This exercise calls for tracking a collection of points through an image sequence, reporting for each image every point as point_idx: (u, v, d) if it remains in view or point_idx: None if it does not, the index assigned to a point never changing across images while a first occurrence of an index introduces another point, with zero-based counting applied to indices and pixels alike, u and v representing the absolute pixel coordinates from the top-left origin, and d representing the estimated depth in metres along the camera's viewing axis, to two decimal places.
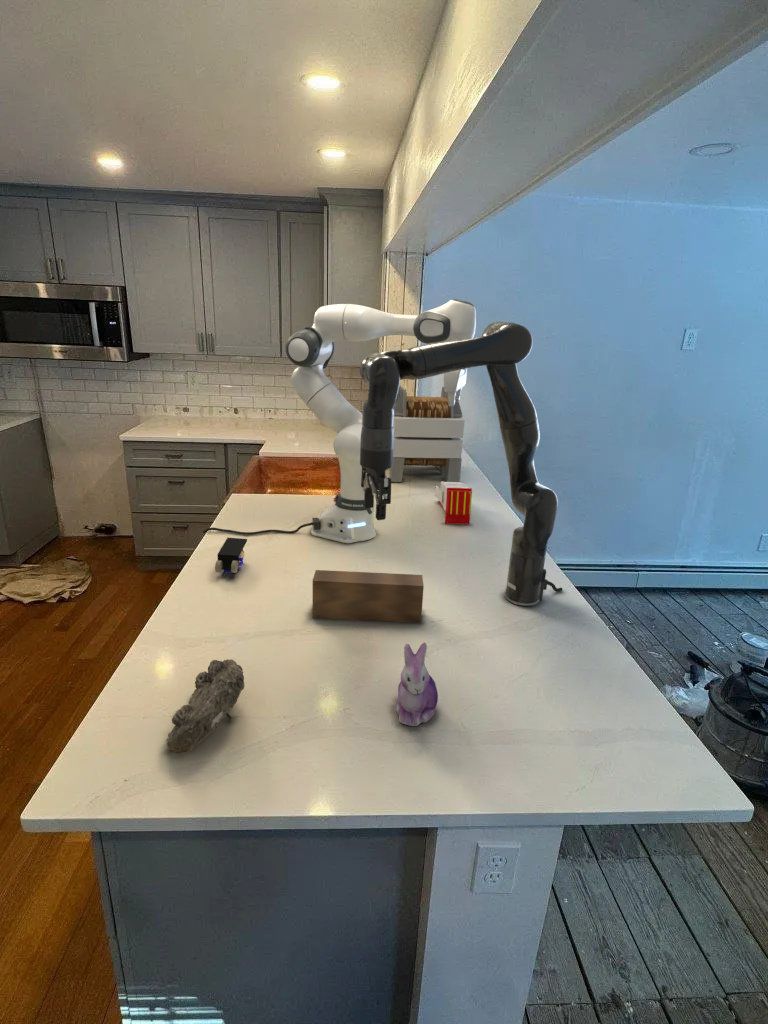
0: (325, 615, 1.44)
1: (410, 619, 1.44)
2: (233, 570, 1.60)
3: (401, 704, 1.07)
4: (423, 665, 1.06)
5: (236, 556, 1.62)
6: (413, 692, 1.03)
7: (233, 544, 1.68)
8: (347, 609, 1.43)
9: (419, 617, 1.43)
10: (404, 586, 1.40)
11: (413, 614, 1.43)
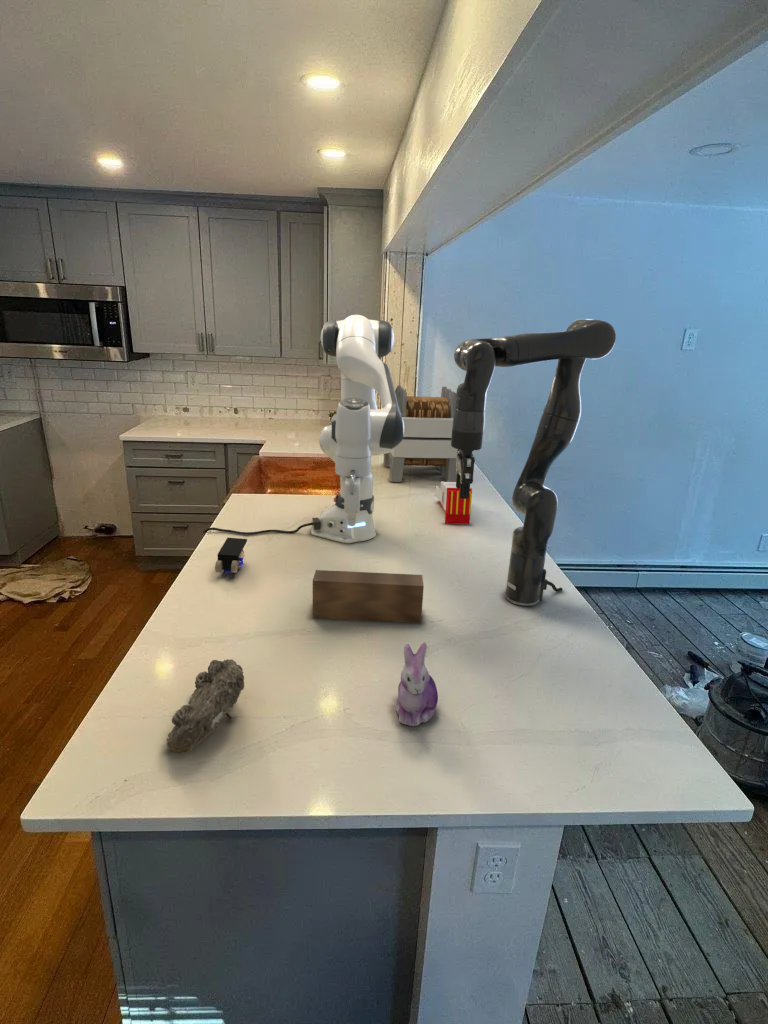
0: (325, 615, 1.44)
1: (410, 619, 1.44)
2: (233, 570, 1.60)
3: (401, 704, 1.07)
4: (423, 665, 1.06)
5: (236, 556, 1.62)
6: (413, 692, 1.03)
7: (233, 544, 1.68)
8: (347, 609, 1.43)
9: (419, 617, 1.43)
10: (404, 586, 1.40)
11: (413, 614, 1.43)
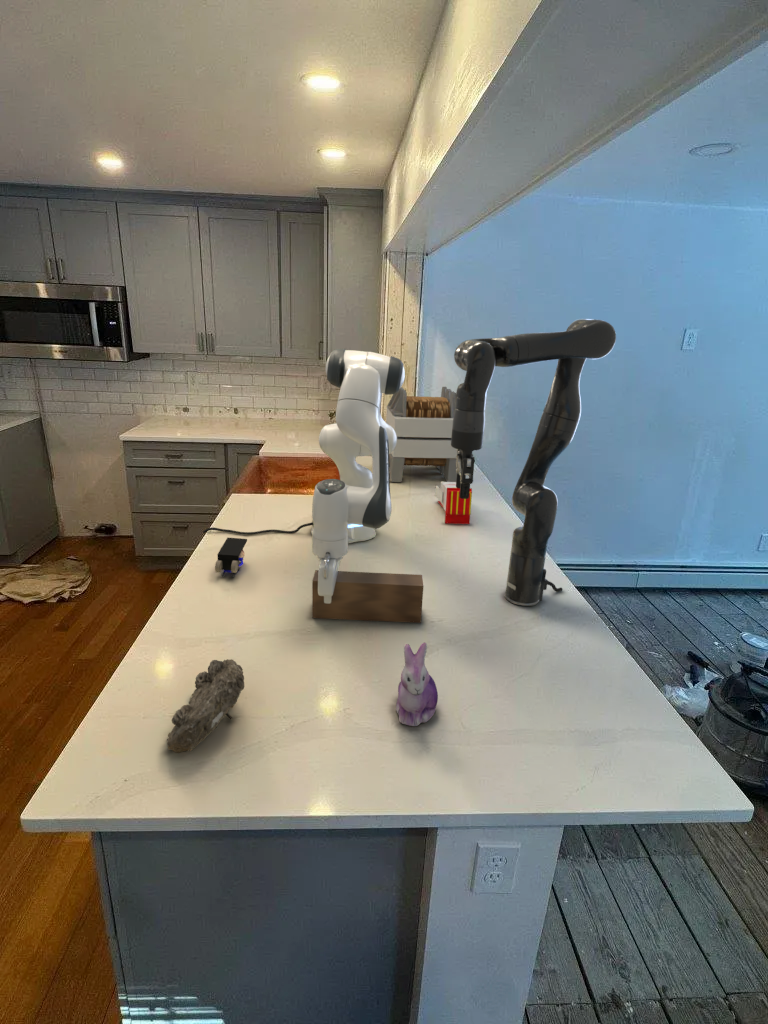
0: (325, 615, 1.44)
1: (410, 619, 1.44)
2: (233, 570, 1.60)
3: (401, 704, 1.07)
4: (423, 665, 1.06)
5: (236, 556, 1.62)
6: (413, 692, 1.03)
7: (233, 544, 1.68)
8: (347, 609, 1.43)
9: (419, 617, 1.43)
10: (404, 586, 1.40)
11: (413, 614, 1.43)
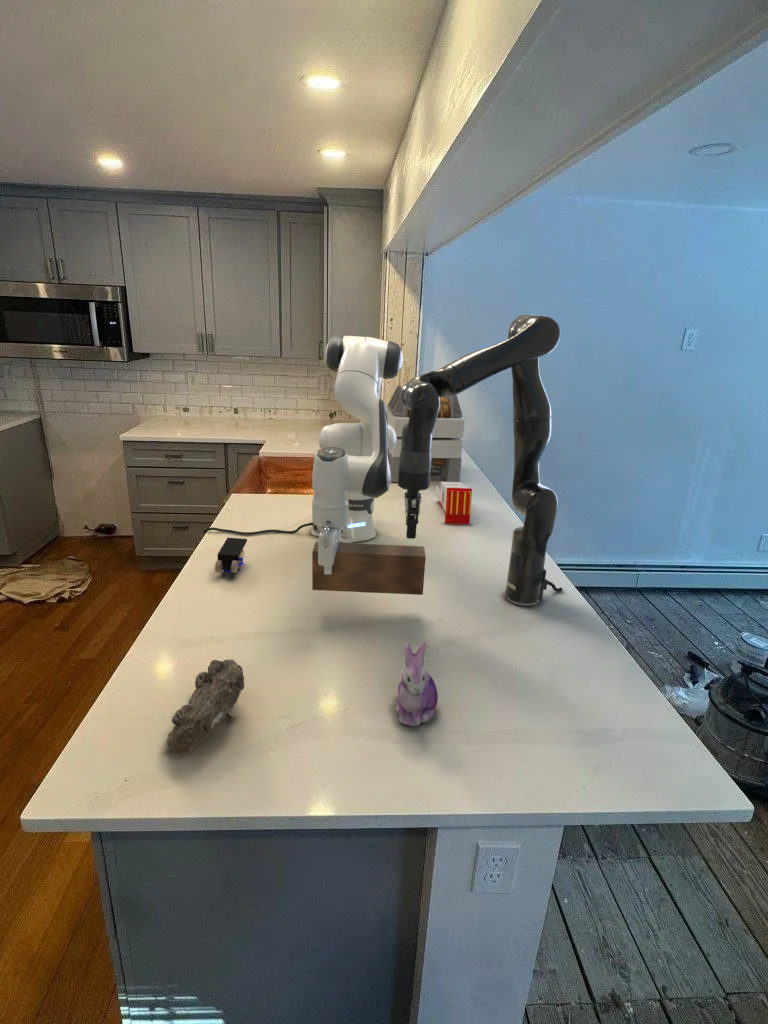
0: (325, 587, 1.41)
1: (412, 591, 1.41)
2: (233, 570, 1.60)
3: (401, 704, 1.07)
4: (423, 665, 1.06)
5: (236, 556, 1.62)
6: (413, 692, 1.03)
7: (233, 544, 1.68)
8: (347, 581, 1.40)
9: (421, 589, 1.41)
10: (406, 556, 1.38)
11: (415, 586, 1.40)
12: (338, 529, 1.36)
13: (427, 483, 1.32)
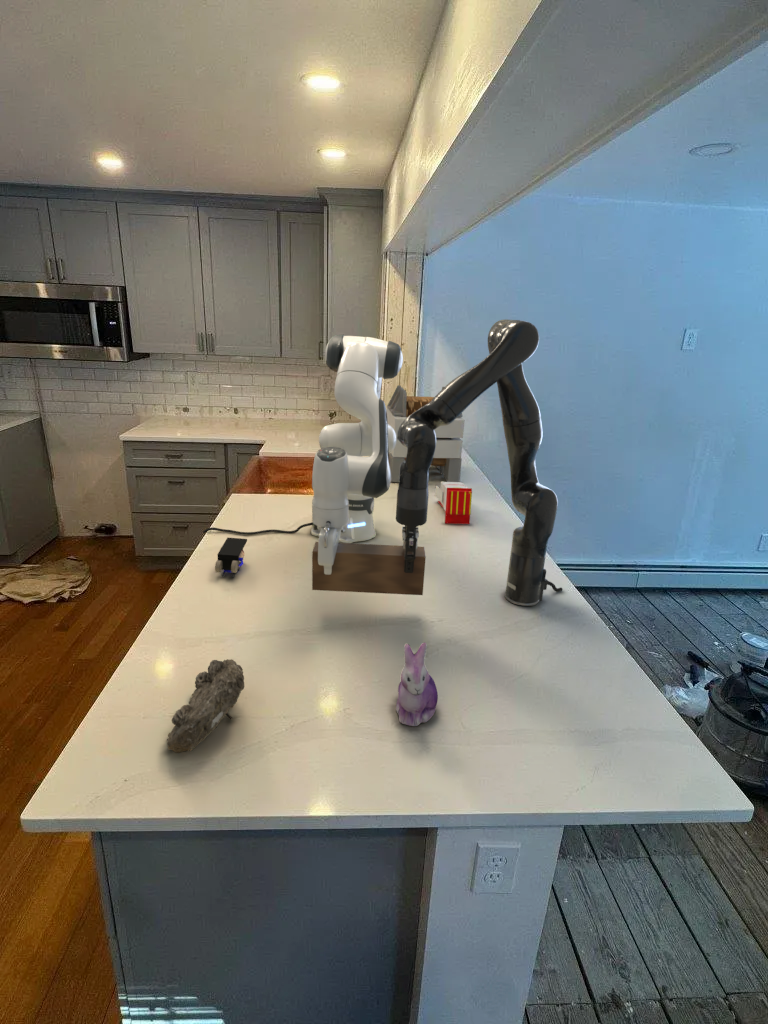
0: (325, 587, 1.41)
1: (412, 591, 1.41)
2: (233, 570, 1.60)
3: (401, 704, 1.07)
4: (423, 665, 1.06)
5: (236, 556, 1.62)
6: (413, 692, 1.03)
7: (233, 544, 1.68)
8: (347, 581, 1.40)
9: (421, 589, 1.41)
10: None
11: (415, 586, 1.40)
12: (338, 529, 1.36)
13: (424, 519, 1.35)
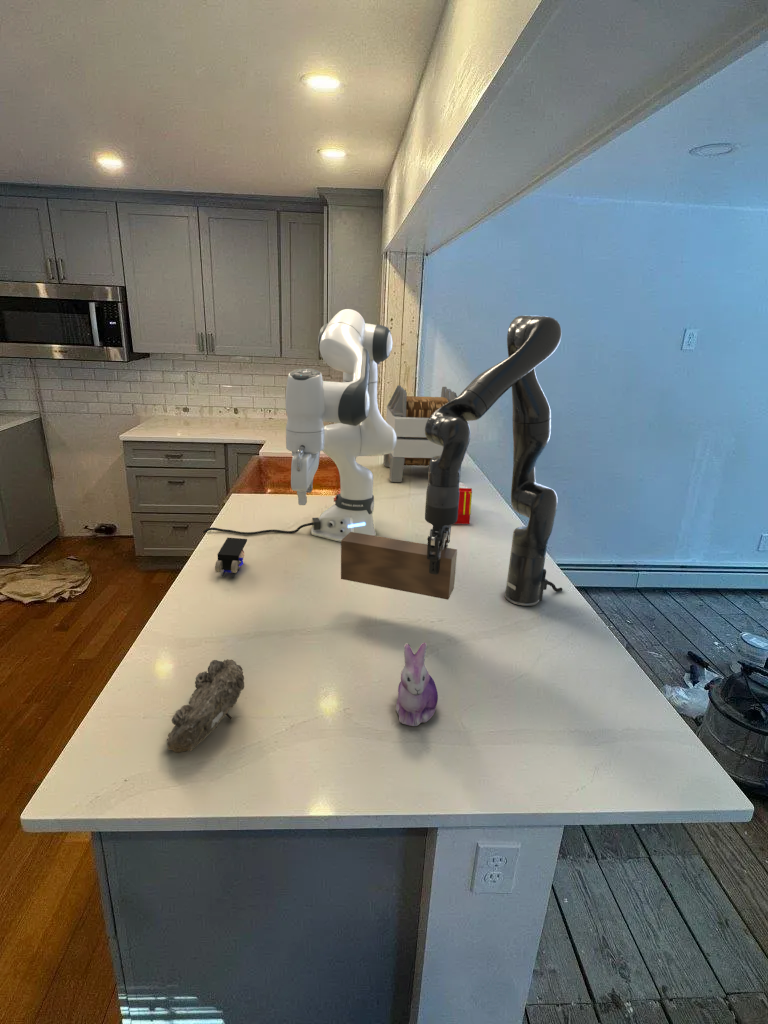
0: (353, 578, 1.41)
1: (437, 594, 1.34)
2: (233, 570, 1.60)
3: (401, 704, 1.07)
4: (423, 665, 1.06)
5: (236, 556, 1.62)
6: (413, 692, 1.03)
7: (233, 544, 1.68)
8: (373, 574, 1.38)
9: (446, 593, 1.33)
10: None
11: (441, 589, 1.34)
12: (313, 455, 1.30)
13: (452, 519, 1.28)
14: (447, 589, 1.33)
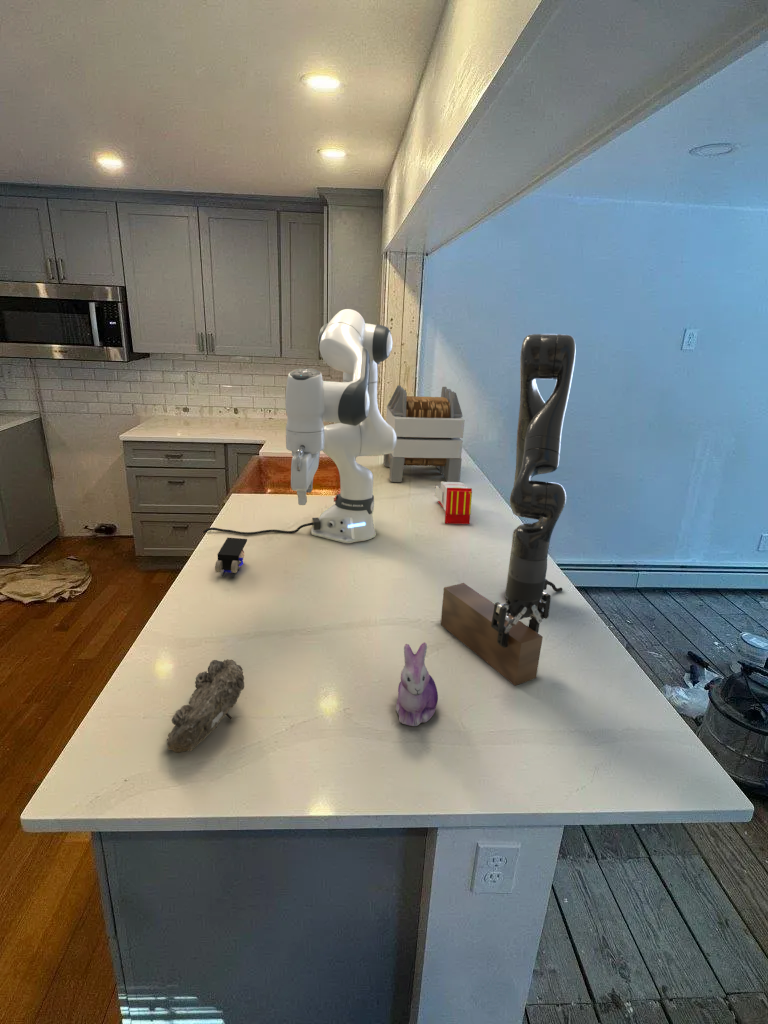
0: (448, 628, 1.40)
1: (507, 676, 1.23)
2: (233, 570, 1.60)
3: (401, 704, 1.07)
4: (423, 665, 1.06)
5: (236, 556, 1.62)
6: (413, 692, 1.03)
7: (233, 544, 1.68)
8: (462, 631, 1.35)
9: (514, 678, 1.21)
10: None
11: (510, 672, 1.22)
12: (313, 455, 1.30)
13: (528, 595, 1.15)
14: (515, 674, 1.21)
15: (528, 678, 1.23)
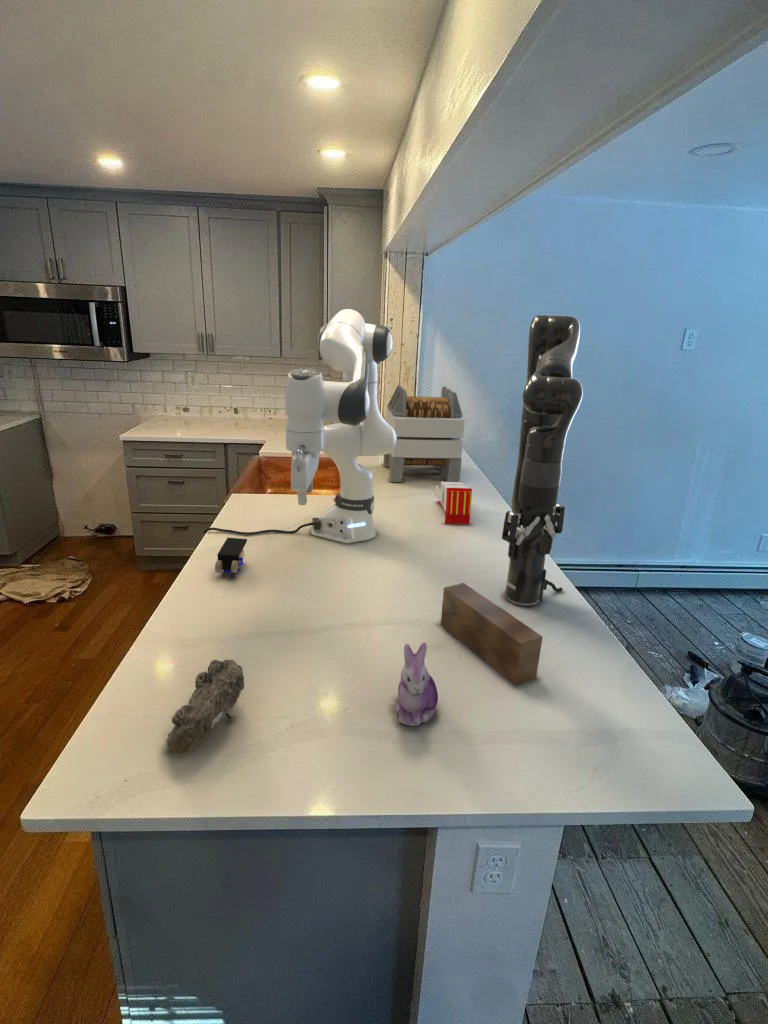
0: (448, 628, 1.40)
1: (507, 676, 1.23)
2: (233, 570, 1.60)
3: (401, 704, 1.07)
4: (423, 665, 1.06)
5: (236, 556, 1.62)
6: (413, 692, 1.03)
7: (233, 544, 1.68)
8: (462, 631, 1.35)
9: (514, 678, 1.21)
10: (505, 633, 1.21)
11: (510, 672, 1.22)
12: (313, 455, 1.30)
13: (541, 502, 1.08)
14: (515, 674, 1.21)
15: (528, 678, 1.23)
